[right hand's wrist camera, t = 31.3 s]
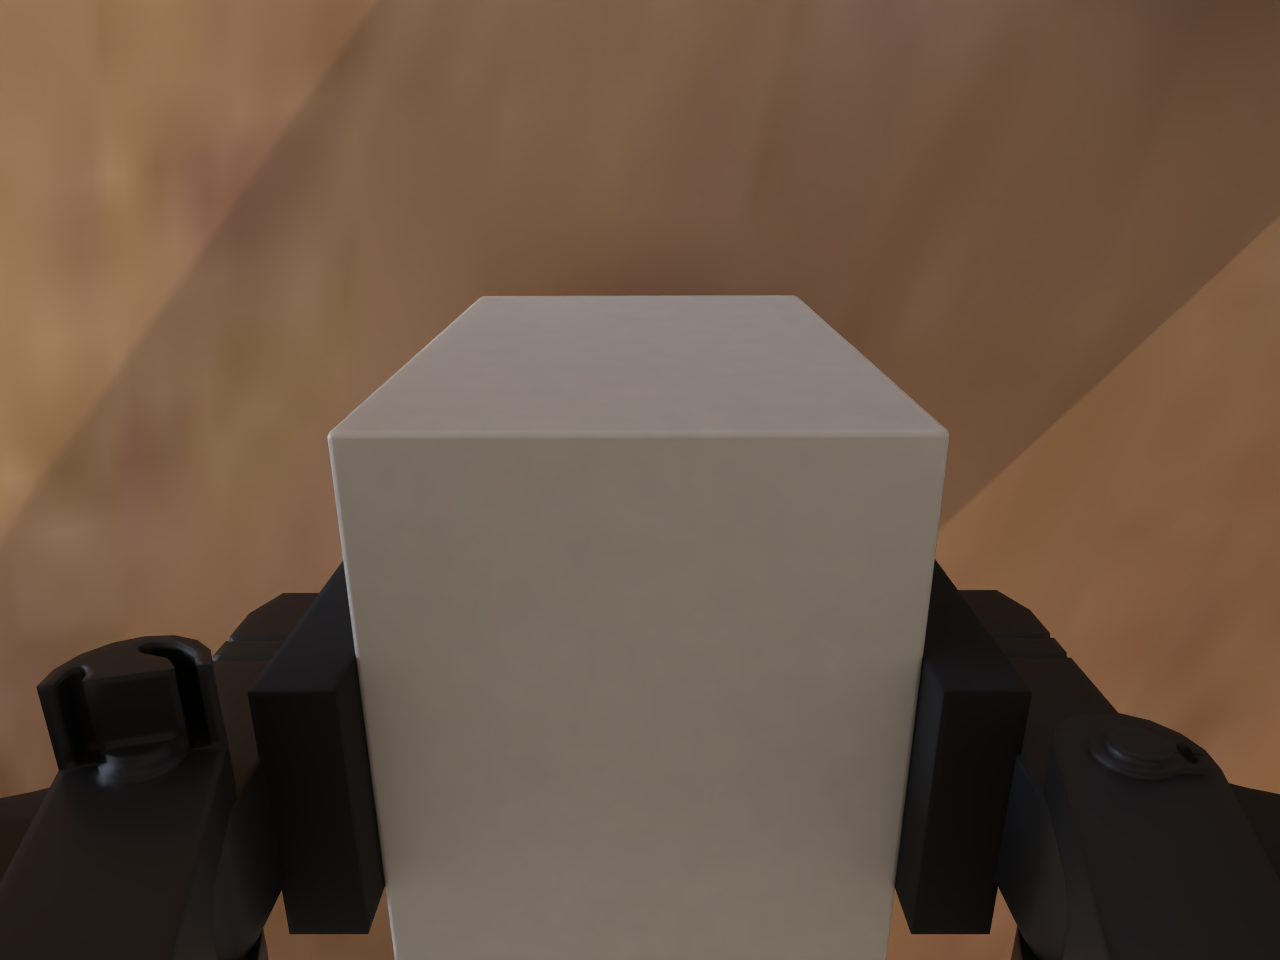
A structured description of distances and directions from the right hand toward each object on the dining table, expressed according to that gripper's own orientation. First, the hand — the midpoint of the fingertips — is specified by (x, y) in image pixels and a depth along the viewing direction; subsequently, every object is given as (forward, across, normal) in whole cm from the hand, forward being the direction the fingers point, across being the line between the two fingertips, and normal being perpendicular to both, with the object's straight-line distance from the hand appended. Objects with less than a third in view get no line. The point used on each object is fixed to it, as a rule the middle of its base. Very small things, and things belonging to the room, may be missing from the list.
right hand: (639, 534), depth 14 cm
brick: (+2, 0, 0) cm, 2 cm away
